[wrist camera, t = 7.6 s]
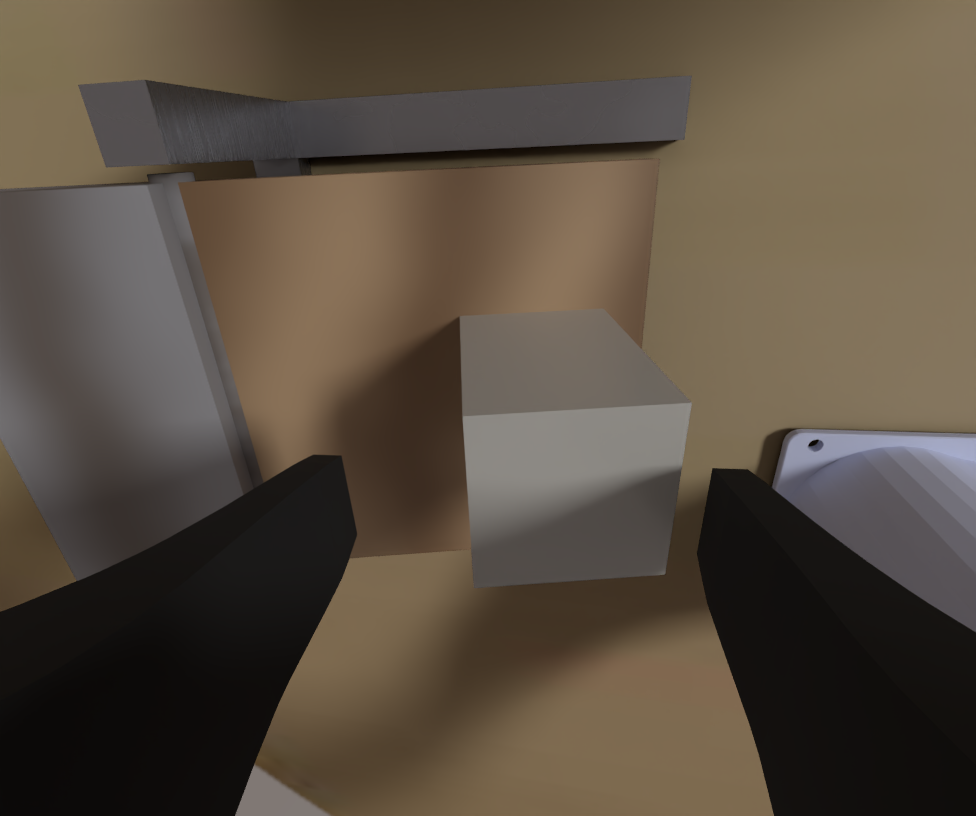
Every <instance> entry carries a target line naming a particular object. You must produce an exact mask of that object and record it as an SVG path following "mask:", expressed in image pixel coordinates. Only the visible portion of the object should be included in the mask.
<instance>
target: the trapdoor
mask: <svg viewBox="0 0 976 816" xmlns="http://www.w3.org/2000/svg"><path fill="white" fill-rule="evenodd" d="M659 161H660V159H649V158H648V159H628V160H607V161H587V162H567V163H546V164H526V165H505V166H485V167H464V168H444V169H423V170H403V171H382V172H362V173H341V174H321V175H300V176H280V177H259V178H239V179H218V180H198V181H195V177H194V173H193V172H181V173H162V174H148V175H147V176H148V180H149V182H138V183H117V184H97V185H76V186H56V187H35V188H15V189H0V439H1V440H2V442H3V444H4V446H5V448H6V450H7V452H8V454H9V455H10V457H11V459H12V461H13V463H14V465H15V467H16V468H17V470H18V472H19V474H20V476H21V478H22V480H23V481H24V483H25V485H26V487H27V489H28V491H29V493H30V494H31V496H32V498H33V500H34V502H35V504H36V506H37V508H38V509H39V511H40V513H41V515H42V517H43V519H44V521H45V522H46V524H47V526H48V528H49V530H50V532H51V534H52V535H53V537H54V539H55V541H56V543H57V545H58V547H59V549H60V550H61V552H62V554H63V556H64V558H65V560H66V562H67V563H68V565H69V567H70V569H71V571H72V573H73V575H74V576H75V578H76V580H77V581H79V580H81V579H83V578H86V577H88V576H91V575H93V574H95V573H97V572H100V571H102V570H104V569H106V568H108V567H110V566H112V565H115V564H117V563H119V562H121V561H123V560H125V559H127V558H129V557H131V556H134V555H136V554H138V553H140V552H142V551H144V550H146V549H148V548H150V547H152V546H154V545H156V544H158V543H160V542H161V541H163V540H165V539H167V538H169V537H171V536H173V535H174V534H176V533H178V532H180V531H182V530H183V529H185V528H187V527H189V526H191V525H192V524H194V523H196V522H198V521H199V520H201V519H203V518H205V517H207V516H208V515H210V514H212V513H214V512H216V511H217V510H219V509H221V508H223V507H224V506H226V505H228V504H229V503H231V502H233V501H234V500H236V499H238V498H239V497H241V496H243V495H244V494H246V493H248V492H249V491H251V490H252V489H254V488H256V487H257V486H259V485H261V484H262V483H264V482H266V481H267V480H269V479H271V478H272V477H274V476H276V475H277V474H279V473H281V472H282V471H284V470H286V469H287V468H289V467H291V466H292V465H294V464H296V463H298V462H300V461H301V460H303V459H305V458H307V457H309V456H311V455H313V454H314V455H342V460H343V465H344V470H345V475H346V480H347V485H348V490H349V495H350V500H351V505H352V510H353V515H354V520H355V525H356V530H357V537H356V540H355V543H354V546H353V549H352V552H351V555H350V558H359V557H372V556H386V555H400V554H414V553H428V552H442V551H456V550H469V549H471V536H470V521H469V506H468V491H467V476H466V461H465V446H464V431H463V416H462V380H461V343H460V316H472V315H491V314H510V313H529V312H548V311H567V310H585V309H604V310H605V311H606V312H607V313H608V314H609V315H610V316H611V317H612V318H613V319H614V320H615V321H616V322H617V323H618V324H619V326H620V327H621V328H622V329H623V330H624V331H625V332H626V333H627V334H628V335H629V336H630V337H631V338H632V339H633V341H634V342H635V343H636V344H637V345H638V346H639V347H640V348H641V349H642V339H643V328H644V318H645V307H646V297H647V286H648V276H649V266H650V255H651V245H652V234H653V224H654V213H655V203H656V193H657V182H658V172H659Z"/></svg>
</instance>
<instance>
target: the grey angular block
mask: <svg viewBox="0 0 976 816" xmlns="http://www.w3.org/2000/svg"><path fill="white" fill-rule="evenodd" d="M691 77H692V76H678V77H663V78H647V79H632V80H616V81H600V82H585V83H569V84H554V85H538V86H523V87H507V88H492V89H476V90H461V91H445V92H430V93H414V94H399V95H383V96H368V97H352V98H337V99H321V100H305V101H290V102H286V101H280V100H273V99H267V98H260V97H253V96H247V95H240V94H234V93H227V92H221V91H214V90H208V89H201V88H194V87H188V86H181V85H175V84H168V83H162V82H155V81H149V80H138V81H124V82H111V83H97V84H84V85H78V86H79V89H80V92H81V95H82V98H83V101H84V103H85V106H86V109H87V112H88V115H89V118H90V121H91V124H92V127H93V130H94V133H95V136H96V139H97V142H98V145H99V148H100V151H101V154H102V157H103V159H104V162H105V165H106V167H122V166H143V165H164V164H185V163H205V162H225V161H246V160H253V163H254V167H255V172H256V176H257V178H259V177H280V176H300V175H312V174H311V168H310V162H309V157H328V156H349V155H370V154H391V153H412V152H433V151H454V150H475V149H496V148H517V147H538V146H559V145H580V144H601V143H622V142H643V141H664V140H684V139H685V130H686V121H687V112H688V104H689V95H690V86H691Z"/></svg>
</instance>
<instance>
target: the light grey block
mask: <svg viewBox="0 0 976 816" xmlns="http://www.w3.org/2000/svg"><path fill="white" fill-rule="evenodd" d="M460 343H461V380H462V416H463V431H464V446H465V461H466V476H467V491H468V506H469V521H470V536H471V551H472V566H473V580H474V588H483V587H497V586H511V585H525V584H539V583H554V582H568V581H582V580H596V579H610V578H624V577H638V576H653V575H665V572H666V566H667V559H668V553H669V547H670V540H671V534H672V527H673V521H674V514H675V508H676V501H677V495H678V489H679V482H680V476H681V469H682V463H683V456H684V450H685V443H686V437H687V430H688V424H689V418H690V411H691V405H692V402H691V401H690V400H689V399H688V398H687V397H686V396H685V395H684V394H683V393H682V392H681V391H680V390H679V389H678V388H677V386H676V385H675V384H674V383H673V382H672V381H671V380H670V379H669V378H668V377H667V376H666V375H665V374H664V373H663V371H662V370H661V369H660V368H659V367H658V366H657V365H656V364H655V363H654V362H653V361H652V360H651V359H650V358H649V357H648V355H647V354H646V353H645V352H644V351H643V350H642V349H641V348H640V347H639V346H638V345H637V344H636V343H635V342H634V341H633V339H632V338H631V337H630V336H629V335H628V334H627V333H626V332H625V331H624V330H623V329H622V328H621V327H620V326H619V324H618V323H617V322H616V321H615V320H614V319H613V318H612V317H611V316H610V315H609V314H608V313H607V312H606V311H605V310H604V309H585V310H567V311H548V312H529V313H510V314H491V315H472V316H460Z"/></svg>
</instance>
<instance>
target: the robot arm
mask: <svg viewBox="0 0 976 816" xmlns="http://www.w3.org/2000/svg"><path fill="white" fill-rule="evenodd" d="M817 439H818V440H819V441H818V443H817V444H816V445H814V446H808V445H809V443H810V442H811V441H813V440H817ZM356 537H357V530H356V525H355V520H354V515H353V510H352V505H351V500H350V495H349V490H348V485H347V480H346V475H345V470H344V465H343V460H342V455H314V454H313V455H311V456H309V457H307V458H305V459H303V460H301V461H300V462H298V463H296V464H294V465H292V466H291V467H289V468H287V469H286V470H284V471H282V472H281V473H279V474H277V475H276V476H274V477H272V478H271V479H269V480H267V481H266V482H264V483H262V484H261V485H259V486H257V487H256V488H254V489H252V490H251V491H249V492H248V493H246V494H244V495H243V496H241V497H239V498H238V499H236V500H234V501H233V502H231V503H229V504H228V505H226V506H224V507H223V508H221V509H219V510H217V511H216V512H214V513H212V514H210V515H208V516H207V517H205V518H203V519H201V520H199V521H198V522H196V523H194V524H192V525H191V526H189V527H187V528H185V529H183V530H182V531H180V532H178V533H176V534H174V535H173V536H171V537H169V538H167V539H165V540H163V541H161V542H160V543H158V544H156V545H154V546H152V547H150V548H148V549H146V550H144V551H142V552H140V553H138V554H136V555H134V556H131V557H129V558H127V559H125V560H123V561H121V562H119V563H117V564H115V565H112V566H110V567H108V568H106V569H104V570H102V571H100V572H97V573H95V574H93V575H91V576H88V577H86V578H83V579H81V580H79V581H76V582H74V583H71V584H69V585H66V586H64V587H62V588H59V589H57V590H54V591H52V592H49V593H47V594H44V595H42V596H40V597H37V598H35V599H32V600H30V601H27V602H25V603H23V604H20V605H18V606H15V607H12V608H10V609H7V610H4V611H2V612H0V816H235V814H236V811H237V809H238V806H239V803H240V801H241V798H242V795H243V793H244V790H245V787H246V785H247V782H248V779H249V776H250V774H251V771H252V769H253V766H254V763H255V761H256V758H257V756H258V753H259V751H260V748H261V746H262V743H263V741H264V738H265V736H266V733H267V731H268V728H269V726H270V723H271V721H272V718H273V716H274V713H275V711H276V708H277V706H278V704H279V702H280V700H281V697H282V695H283V693H284V691H285V689H286V687H287V685H288V683H289V680H290V678H291V677H292V675H293V673H294V671H295V669H296V667H297V665H298V663H299V661H300V659H301V657H302V655H303V653H304V652H305V650H306V648H307V646H308V644H309V642H310V640H311V638H312V636H313V634H314V632H315V630H316V628H317V626H318V625H319V623H320V621H321V619H322V617H323V615H324V613H325V611H326V609H327V607H328V605H329V603H330V601H331V599H332V597H333V595H334V593H335V591H336V589H337V587H338V585H339V583H340V581H341V579H342V577H343V574H344V571H345V569H346V566H347V563H348V561H349V558H350V555H351V552H352V549H353V546H354V543H355V540H356ZM697 556H698V561H699V566H700V571H701V576H702V581H703V586H704V590H705V595H706V599H707V604H708V607H709V610H710V613H711V616H712V619H713V621H714V624H715V627H716V630H717V633H718V636H719V639H720V642H721V645H722V648H723V650H724V653H725V656H726V659H727V662H728V665H729V667H730V670H731V673H732V676H733V679H734V682H735V684H736V687H737V690H738V693H739V696H740V699H741V702H742V704H743V707H744V710H745V713H746V716H747V719H748V721H749V724H750V727H751V731H752V734H753V737H754V740H755V744H756V747H757V750H758V753H759V757H760V761H761V765H762V769H763V773H764V777H765V781H766V785H767V789H768V793H769V797H770V801H771V805H772V809H773V813H774V816H976V434H962V433H927V432H891V431H855V430H819V429H797V430H793V431H791V432H789V433H788V434H787V435H786V436H785V438H784V440H783V444H782V449H781V453H780V457H779V461H778V465H777V469H776V473H775V477H774V481H773V485H772V488H771V487H770V486H769V485H768V484H766V483H765V482H764V481H763V480H761V479H760V478H759V477H757V476H756V475H755V474H753V473H752V472H750V471H749V470H745V469H717V468H713V469H712V474H711V480H710V485H709V491H708V496H707V502H706V507H705V513H704V518H703V524H702V529H701V535H700V540H699V545H698V551H697Z"/></svg>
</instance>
